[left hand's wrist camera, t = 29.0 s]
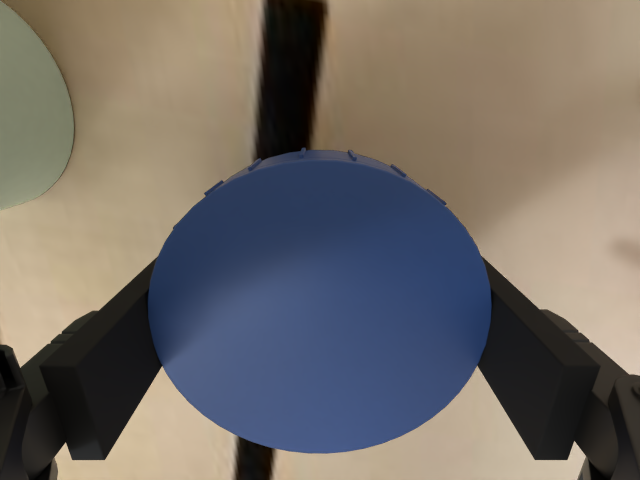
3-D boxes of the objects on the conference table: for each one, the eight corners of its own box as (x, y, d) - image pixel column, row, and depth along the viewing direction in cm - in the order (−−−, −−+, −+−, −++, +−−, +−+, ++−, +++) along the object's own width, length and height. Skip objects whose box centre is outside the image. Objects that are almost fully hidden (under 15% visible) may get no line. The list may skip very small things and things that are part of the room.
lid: (374, 75, 10) (388, 67, 8) (510, 331, 13) (546, 373, 11) (112, 255, 12) (68, 286, 10) (284, 439, 15) (278, 493, 13)
